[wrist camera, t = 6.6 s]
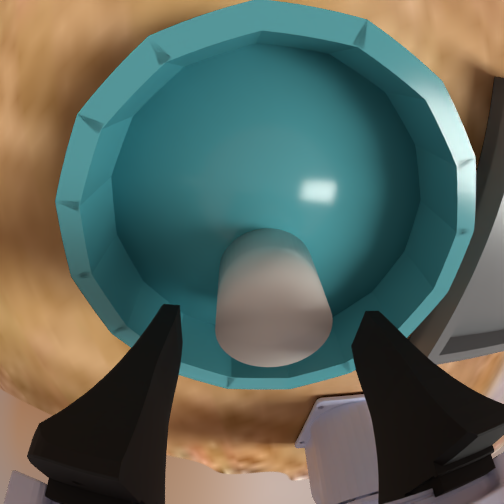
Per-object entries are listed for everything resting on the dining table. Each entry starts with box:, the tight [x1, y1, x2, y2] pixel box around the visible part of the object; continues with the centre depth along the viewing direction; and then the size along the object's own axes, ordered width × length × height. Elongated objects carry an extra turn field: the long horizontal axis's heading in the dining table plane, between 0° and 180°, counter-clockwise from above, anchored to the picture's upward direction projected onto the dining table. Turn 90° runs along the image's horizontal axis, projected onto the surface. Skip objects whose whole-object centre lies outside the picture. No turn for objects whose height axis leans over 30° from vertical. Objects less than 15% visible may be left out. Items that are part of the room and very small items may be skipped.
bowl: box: [55, 0, 476, 389], centre depth 12 cm, size 16×16×4 cm
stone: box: [215, 229, 333, 367], centre depth 13 cm, size 4×4×4 cm
